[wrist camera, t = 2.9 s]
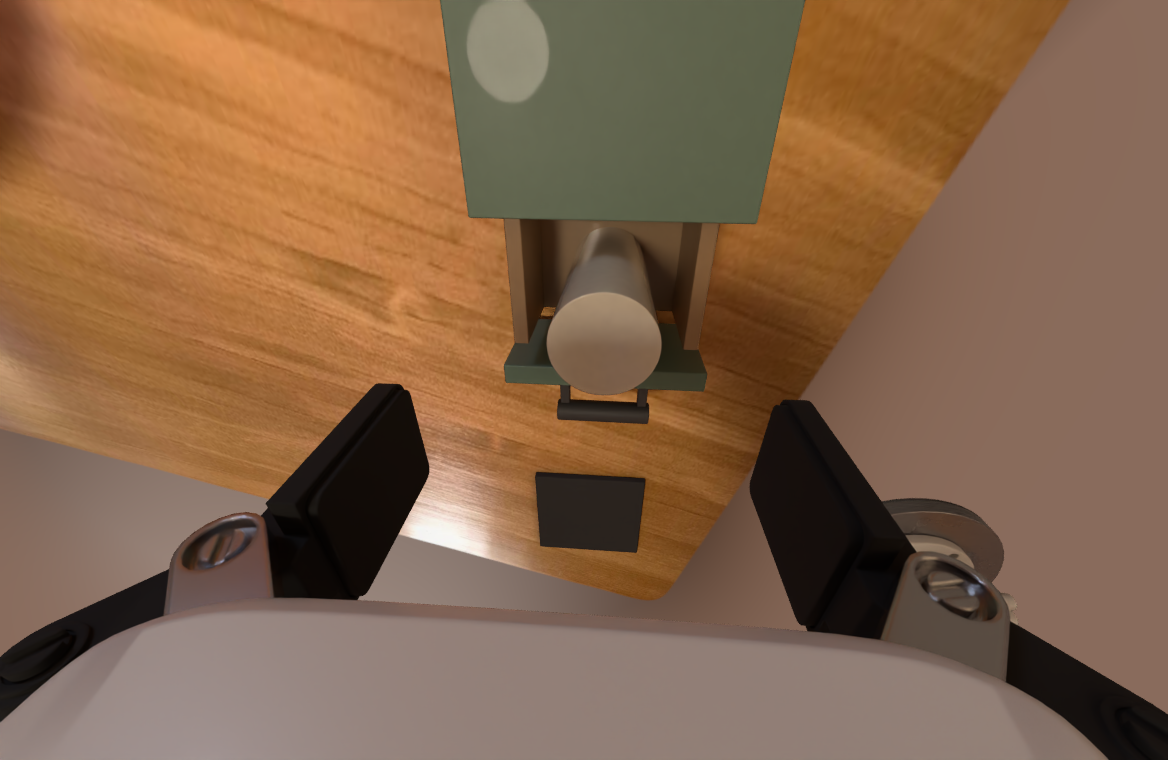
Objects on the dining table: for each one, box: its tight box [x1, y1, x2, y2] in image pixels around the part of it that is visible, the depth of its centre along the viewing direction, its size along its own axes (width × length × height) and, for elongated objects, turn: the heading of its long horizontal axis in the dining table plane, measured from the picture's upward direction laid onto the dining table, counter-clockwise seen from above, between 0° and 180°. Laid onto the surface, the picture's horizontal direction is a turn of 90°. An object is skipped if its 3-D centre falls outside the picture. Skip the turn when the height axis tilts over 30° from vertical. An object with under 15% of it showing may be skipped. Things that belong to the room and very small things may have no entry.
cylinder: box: [547, 227, 662, 395], centre depth 21 cm, size 4×4×12 cm
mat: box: [535, 472, 645, 553], centre depth 40 cm, size 10×10×1 cm
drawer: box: [504, 219, 720, 424], centre depth 24 cm, size 18×11×7 cm, turn 0°
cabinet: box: [440, 0, 805, 224], centre depth 18 cm, size 15×13×9 cm
